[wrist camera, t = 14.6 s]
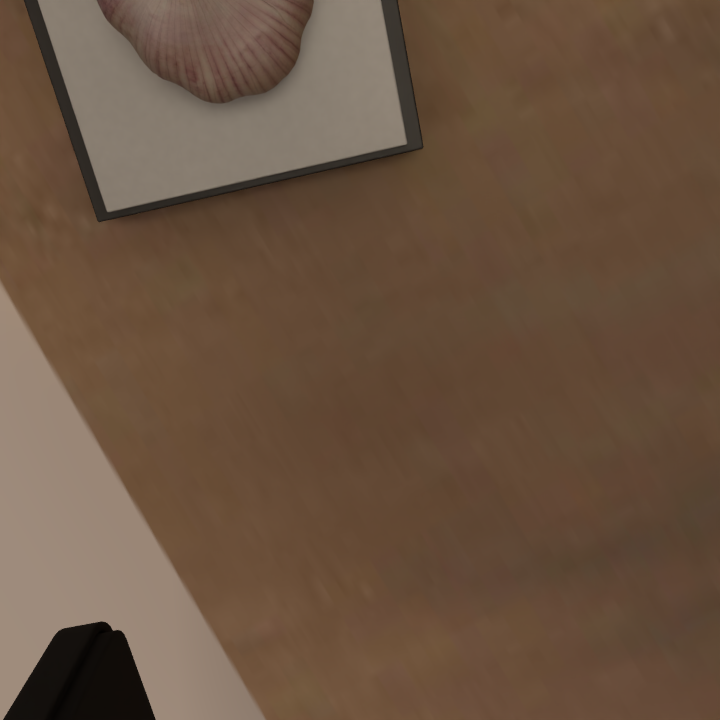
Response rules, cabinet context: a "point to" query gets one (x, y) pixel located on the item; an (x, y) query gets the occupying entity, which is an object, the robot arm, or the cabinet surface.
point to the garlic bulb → (214, 41)
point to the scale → (226, 108)
